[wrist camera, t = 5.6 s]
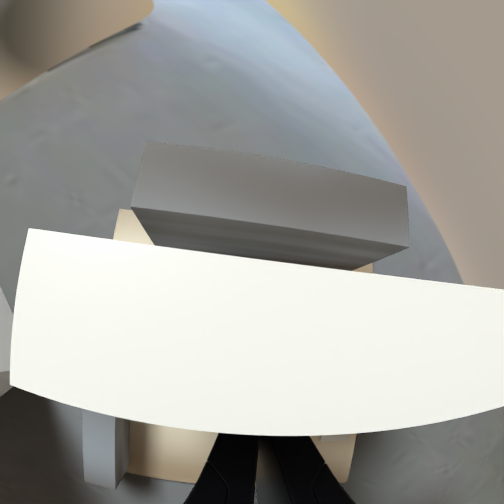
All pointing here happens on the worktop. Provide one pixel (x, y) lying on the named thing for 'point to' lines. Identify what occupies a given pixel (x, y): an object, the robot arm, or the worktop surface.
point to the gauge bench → (249, 246)
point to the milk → (5, 343)
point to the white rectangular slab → (249, 340)
